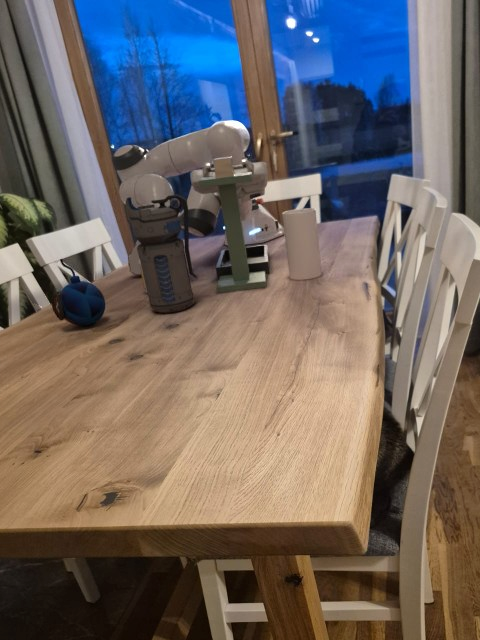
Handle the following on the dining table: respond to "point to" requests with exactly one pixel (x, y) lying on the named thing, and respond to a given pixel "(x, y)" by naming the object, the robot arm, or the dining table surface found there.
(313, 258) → the cup
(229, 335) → the dining table surface
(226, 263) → the tray
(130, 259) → the sculpture
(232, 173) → the tan rectangular bar
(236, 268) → the stand
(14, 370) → the dining table surface
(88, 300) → the bomb
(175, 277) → the grenade canister
